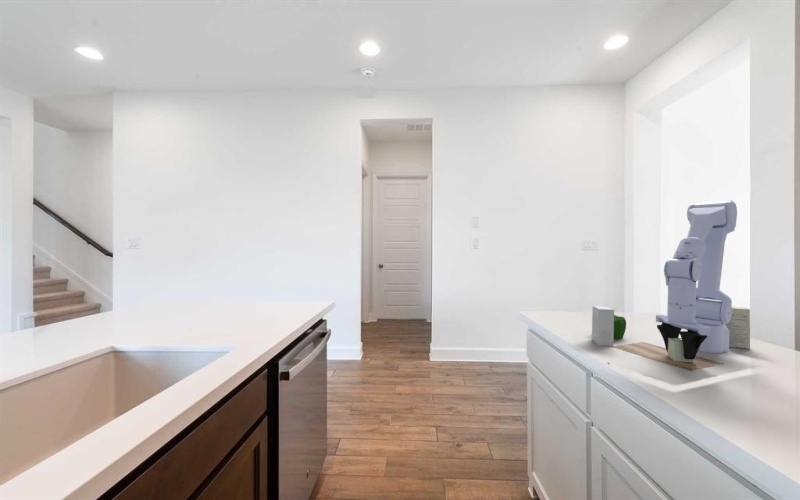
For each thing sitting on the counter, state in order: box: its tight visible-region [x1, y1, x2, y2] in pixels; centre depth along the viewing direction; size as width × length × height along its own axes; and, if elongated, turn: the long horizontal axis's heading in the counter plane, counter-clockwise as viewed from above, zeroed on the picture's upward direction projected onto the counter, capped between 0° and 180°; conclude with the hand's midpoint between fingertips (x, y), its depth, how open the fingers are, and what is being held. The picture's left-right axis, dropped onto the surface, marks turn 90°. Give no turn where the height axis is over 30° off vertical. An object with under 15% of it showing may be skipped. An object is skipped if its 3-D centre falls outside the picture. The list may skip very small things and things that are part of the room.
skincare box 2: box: [724, 306, 751, 350], centre depth 105 cm, size 6×4×12 cm
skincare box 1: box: [591, 305, 615, 347], centre depth 104 cm, size 6×4×12 cm
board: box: [611, 341, 724, 371], centre depth 93 cm, size 14×20×1 cm
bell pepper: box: [614, 314, 627, 340], centre depth 111 cm, size 8×8×10 cm
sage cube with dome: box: [668, 337, 693, 362], centre depth 89 cm, size 4×4×5 cm
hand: (680, 355), depth 89 cm, fingers closed on sage cube with dome, 5 cm apart
